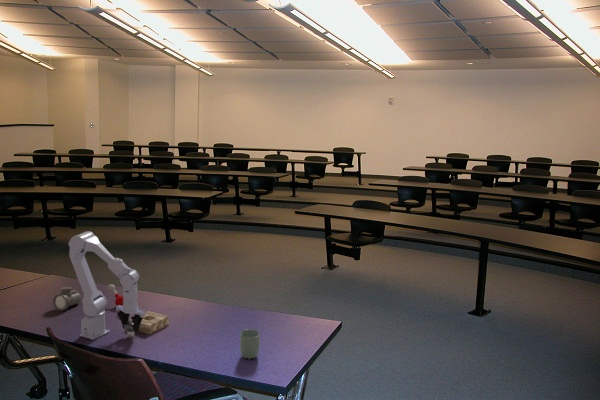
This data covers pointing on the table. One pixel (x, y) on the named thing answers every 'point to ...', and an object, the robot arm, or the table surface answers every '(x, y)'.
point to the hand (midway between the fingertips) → (131, 329)
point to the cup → (249, 343)
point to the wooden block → (153, 322)
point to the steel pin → (129, 329)
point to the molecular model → (118, 298)
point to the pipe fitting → (66, 298)
